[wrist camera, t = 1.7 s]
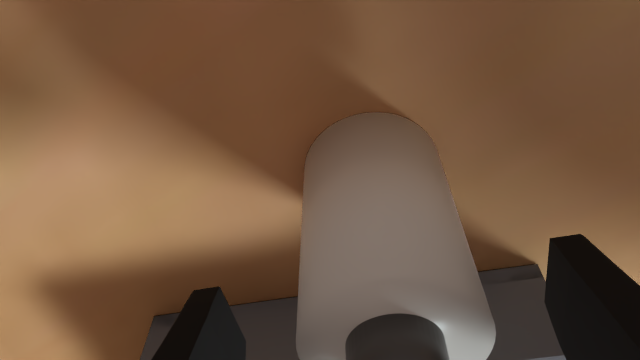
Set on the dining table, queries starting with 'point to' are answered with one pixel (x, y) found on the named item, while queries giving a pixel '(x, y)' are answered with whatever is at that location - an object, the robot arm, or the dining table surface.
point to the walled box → (500, 290)
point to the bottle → (385, 250)
